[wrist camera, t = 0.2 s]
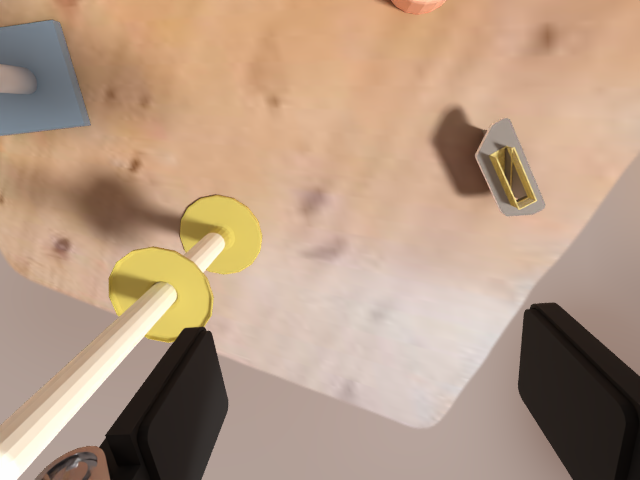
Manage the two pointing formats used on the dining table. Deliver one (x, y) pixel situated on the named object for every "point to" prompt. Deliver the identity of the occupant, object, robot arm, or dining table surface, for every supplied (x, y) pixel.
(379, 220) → the dining table surface
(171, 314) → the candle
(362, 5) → the dining table surface
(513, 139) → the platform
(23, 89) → the blue peg base
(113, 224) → the dining table surface
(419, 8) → the salt shaker
